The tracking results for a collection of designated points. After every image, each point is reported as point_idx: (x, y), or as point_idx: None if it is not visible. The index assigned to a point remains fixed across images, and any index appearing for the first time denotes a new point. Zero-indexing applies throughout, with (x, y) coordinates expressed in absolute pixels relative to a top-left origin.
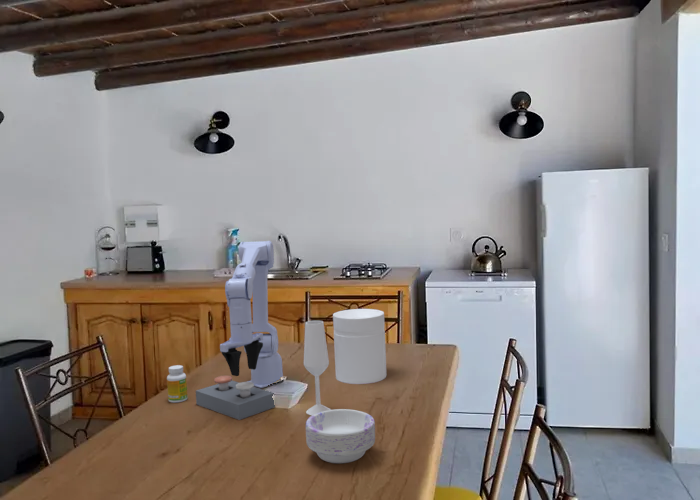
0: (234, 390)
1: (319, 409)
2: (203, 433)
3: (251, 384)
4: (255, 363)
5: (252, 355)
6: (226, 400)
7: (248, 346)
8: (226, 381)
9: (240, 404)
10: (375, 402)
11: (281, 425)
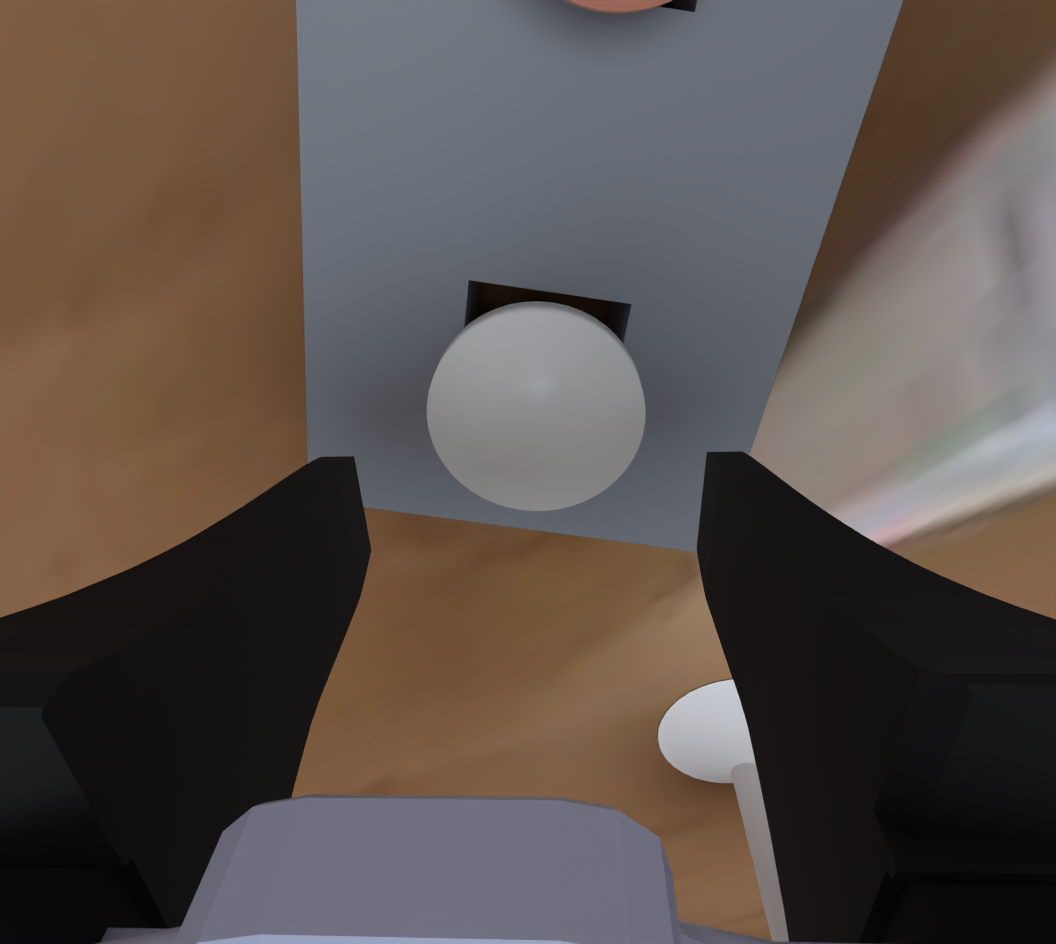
0: (609, 119)
1: (708, 773)
2: (17, 395)
3: (571, 487)
4: (722, 631)
5: (767, 687)
6: (313, 315)
7: (854, 786)
8: (567, 2)
9: None
10: None
11: (444, 693)
